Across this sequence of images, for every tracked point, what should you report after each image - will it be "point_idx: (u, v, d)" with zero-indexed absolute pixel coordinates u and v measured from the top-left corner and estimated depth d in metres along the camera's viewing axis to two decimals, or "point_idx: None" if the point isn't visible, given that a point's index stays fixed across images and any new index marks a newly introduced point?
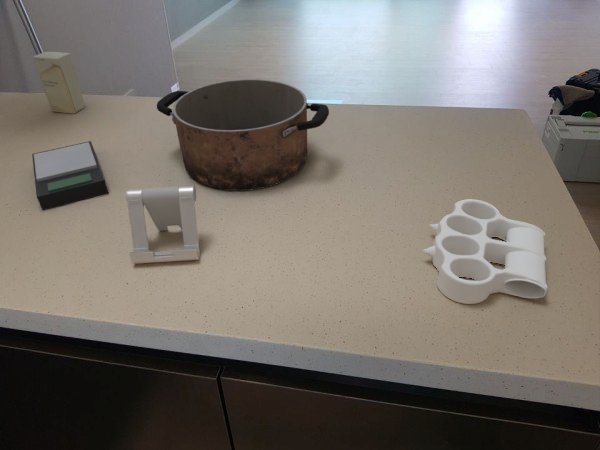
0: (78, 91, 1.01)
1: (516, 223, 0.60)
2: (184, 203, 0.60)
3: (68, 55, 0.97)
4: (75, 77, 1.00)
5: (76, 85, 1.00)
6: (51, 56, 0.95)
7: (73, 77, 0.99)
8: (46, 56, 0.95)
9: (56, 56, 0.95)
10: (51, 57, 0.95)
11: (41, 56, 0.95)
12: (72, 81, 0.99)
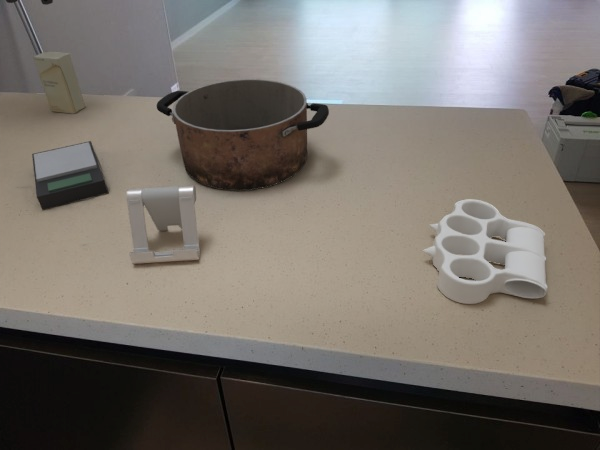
0: (78, 91, 1.01)
1: (516, 223, 0.60)
2: (184, 203, 0.60)
3: (68, 55, 0.97)
4: (75, 77, 1.00)
5: (76, 85, 1.00)
6: (51, 56, 0.95)
7: (73, 77, 0.99)
8: (46, 56, 0.95)
9: (56, 56, 0.95)
10: (51, 57, 0.95)
11: (41, 56, 0.95)
12: (72, 81, 0.99)
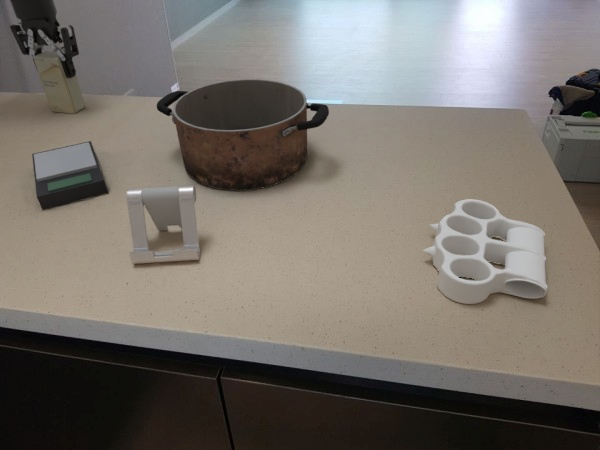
0: (78, 91, 1.01)
1: (516, 223, 0.60)
2: (184, 203, 0.60)
3: None
4: (75, 77, 1.00)
5: (76, 85, 1.00)
6: (51, 56, 0.95)
7: (73, 77, 0.99)
8: (46, 56, 0.95)
9: (56, 56, 0.95)
10: (51, 57, 0.95)
11: (41, 56, 0.95)
12: (72, 81, 0.99)
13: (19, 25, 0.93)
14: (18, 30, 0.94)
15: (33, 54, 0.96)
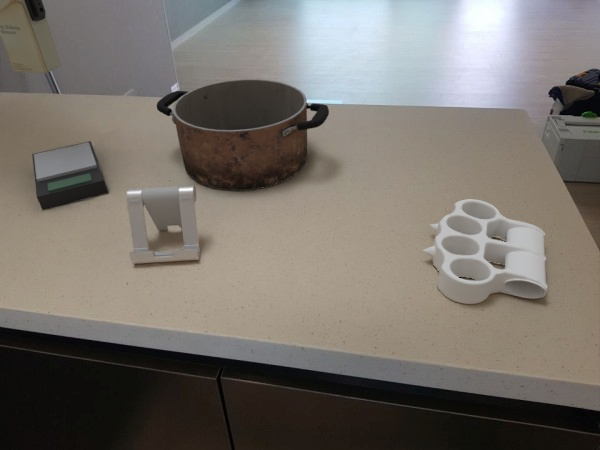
0: (50, 42, 0.72)
1: (516, 223, 0.60)
2: (184, 203, 0.60)
3: None
4: (45, 21, 0.71)
5: (47, 33, 0.72)
6: None
7: (42, 21, 0.70)
8: None
9: None
10: None
11: None
12: (41, 26, 0.70)
13: None
14: None
15: None
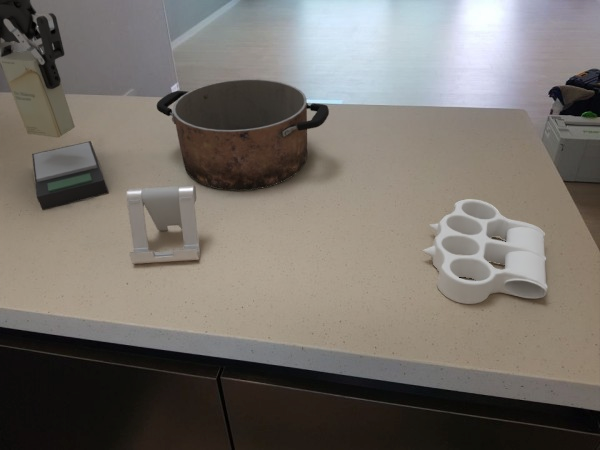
0: (64, 106, 0.73)
1: (516, 223, 0.60)
2: (184, 203, 0.60)
3: None
4: (60, 87, 0.71)
5: (61, 98, 0.72)
6: (25, 57, 0.67)
7: (57, 87, 0.71)
8: (17, 57, 0.67)
9: (32, 57, 0.67)
10: (24, 59, 0.66)
11: (10, 57, 0.67)
12: (56, 92, 0.70)
13: None
14: None
15: None
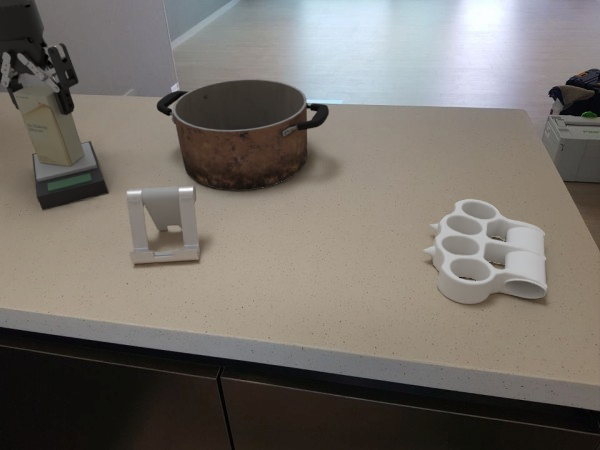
0: (75, 136, 0.76)
1: (516, 223, 0.60)
2: (184, 203, 0.60)
3: None
4: (71, 118, 0.74)
5: (72, 129, 0.75)
6: (38, 92, 0.70)
7: (68, 119, 0.74)
8: (31, 92, 0.70)
9: (45, 92, 0.70)
10: (38, 94, 0.69)
11: (24, 92, 0.70)
12: (67, 124, 0.74)
13: None
14: None
15: (7, 82, 0.70)
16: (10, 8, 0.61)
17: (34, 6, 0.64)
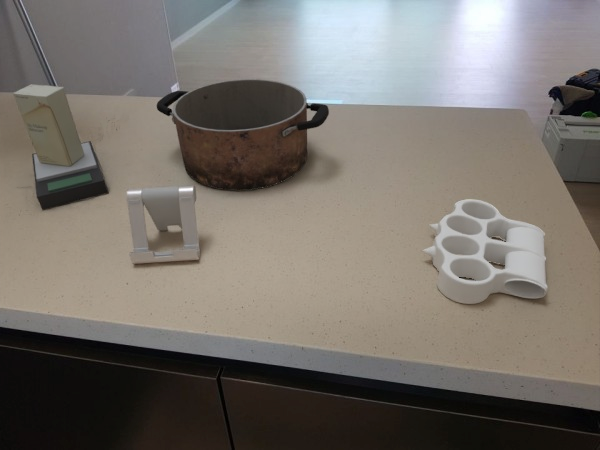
0: (75, 136, 0.76)
1: (516, 223, 0.60)
2: (184, 203, 0.60)
3: (61, 90, 0.71)
4: (71, 118, 0.74)
5: (72, 129, 0.75)
6: (38, 92, 0.70)
7: (68, 119, 0.74)
8: (31, 92, 0.70)
9: (45, 92, 0.70)
10: (38, 94, 0.69)
11: (24, 92, 0.70)
12: (67, 124, 0.74)
13: None
14: None
15: None
16: None
17: None
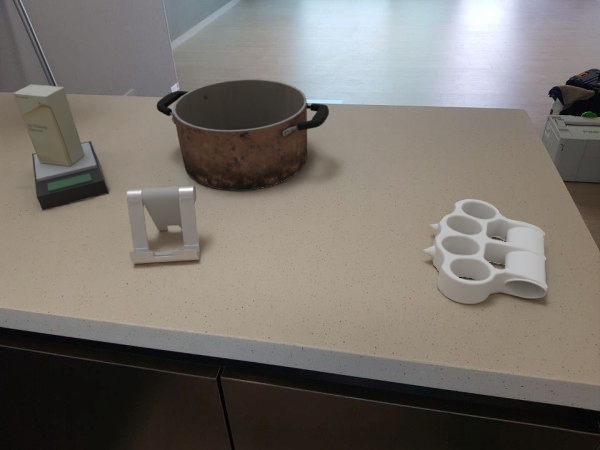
0: (75, 136, 0.76)
1: (516, 223, 0.60)
2: (184, 203, 0.60)
3: (61, 90, 0.71)
4: (71, 118, 0.74)
5: (72, 129, 0.75)
6: (38, 92, 0.70)
7: (68, 119, 0.74)
8: (31, 92, 0.70)
9: (45, 92, 0.70)
10: (38, 94, 0.69)
11: (24, 92, 0.70)
12: (67, 123, 0.74)
13: None
14: None
15: None
16: None
17: None
